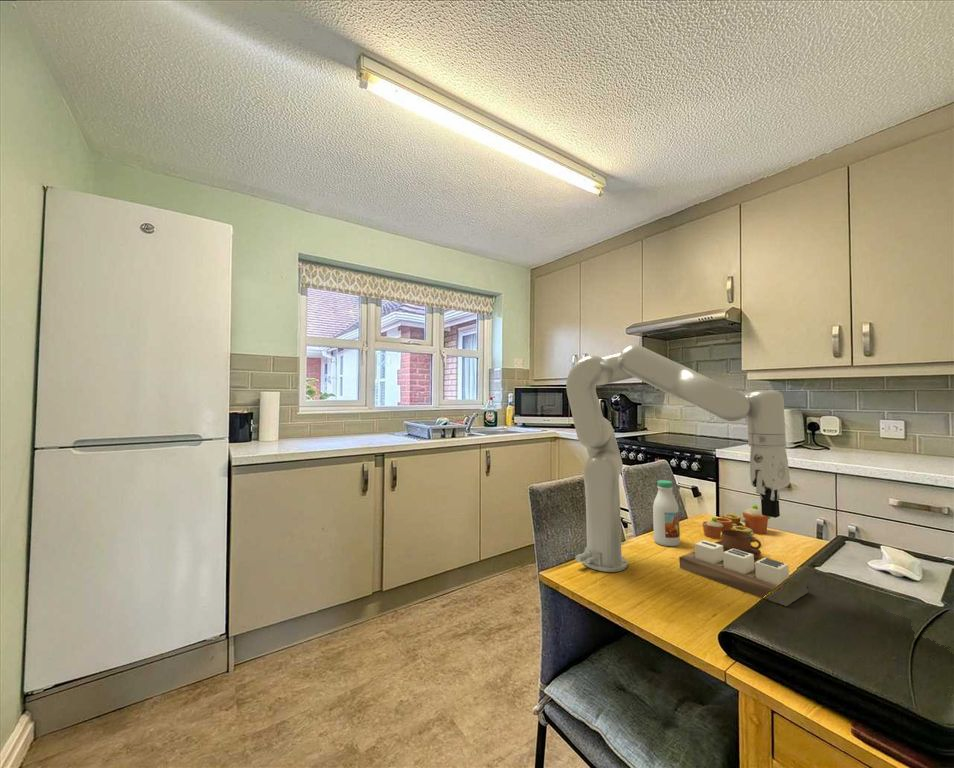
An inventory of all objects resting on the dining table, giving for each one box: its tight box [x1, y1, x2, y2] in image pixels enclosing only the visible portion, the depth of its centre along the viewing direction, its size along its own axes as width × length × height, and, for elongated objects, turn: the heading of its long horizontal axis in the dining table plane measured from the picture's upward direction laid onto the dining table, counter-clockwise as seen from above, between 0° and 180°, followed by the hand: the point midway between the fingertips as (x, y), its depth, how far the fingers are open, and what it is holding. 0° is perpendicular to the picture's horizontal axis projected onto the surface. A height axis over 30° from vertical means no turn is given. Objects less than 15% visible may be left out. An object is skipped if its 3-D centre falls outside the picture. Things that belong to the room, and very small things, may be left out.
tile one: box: [694, 540, 723, 564], centre depth 109 cm, size 5×5×4 cm
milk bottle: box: [652, 479, 681, 547], centre depth 130 cm, size 8×8×20 cm
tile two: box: [723, 549, 755, 575], centre depth 103 cm, size 5×5×4 cm
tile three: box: [754, 557, 790, 585], centre depth 96 cm, size 5×5×4 cm
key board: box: [678, 550, 791, 599], centre depth 103 cm, size 12×25×3 cm, turn 32°
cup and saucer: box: [714, 529, 762, 559], centre depth 120 cm, size 12×12×6 cm
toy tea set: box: [702, 504, 772, 539], centre depth 138 cm, size 26×16×10 cm, turn 128°
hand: (770, 515), depth 97 cm, fingers closed
